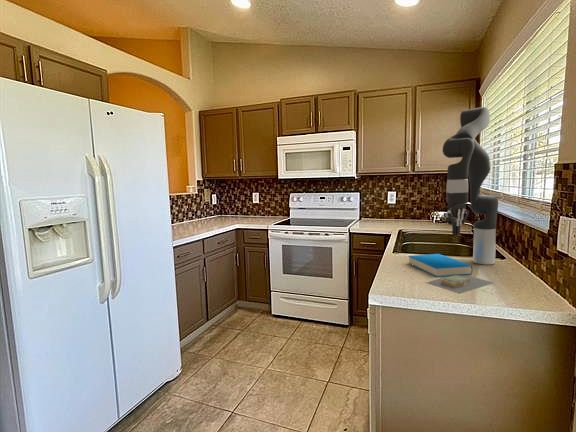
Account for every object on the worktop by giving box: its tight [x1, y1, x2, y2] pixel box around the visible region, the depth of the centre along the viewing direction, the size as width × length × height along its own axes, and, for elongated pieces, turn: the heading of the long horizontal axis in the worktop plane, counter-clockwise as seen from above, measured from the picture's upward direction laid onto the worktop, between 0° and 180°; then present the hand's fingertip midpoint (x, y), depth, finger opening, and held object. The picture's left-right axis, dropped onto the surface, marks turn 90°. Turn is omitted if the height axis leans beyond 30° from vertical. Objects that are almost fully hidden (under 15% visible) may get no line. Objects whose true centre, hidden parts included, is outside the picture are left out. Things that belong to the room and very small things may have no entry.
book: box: [408, 253, 473, 278], centre depth 154 cm, size 17×4×25 cm
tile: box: [440, 275, 470, 288], centre depth 131 cm, size 2×6×9 cm
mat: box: [425, 274, 495, 295], centre depth 133 cm, size 22×15×1 cm
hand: (456, 235), depth 129 cm, fingers closed
